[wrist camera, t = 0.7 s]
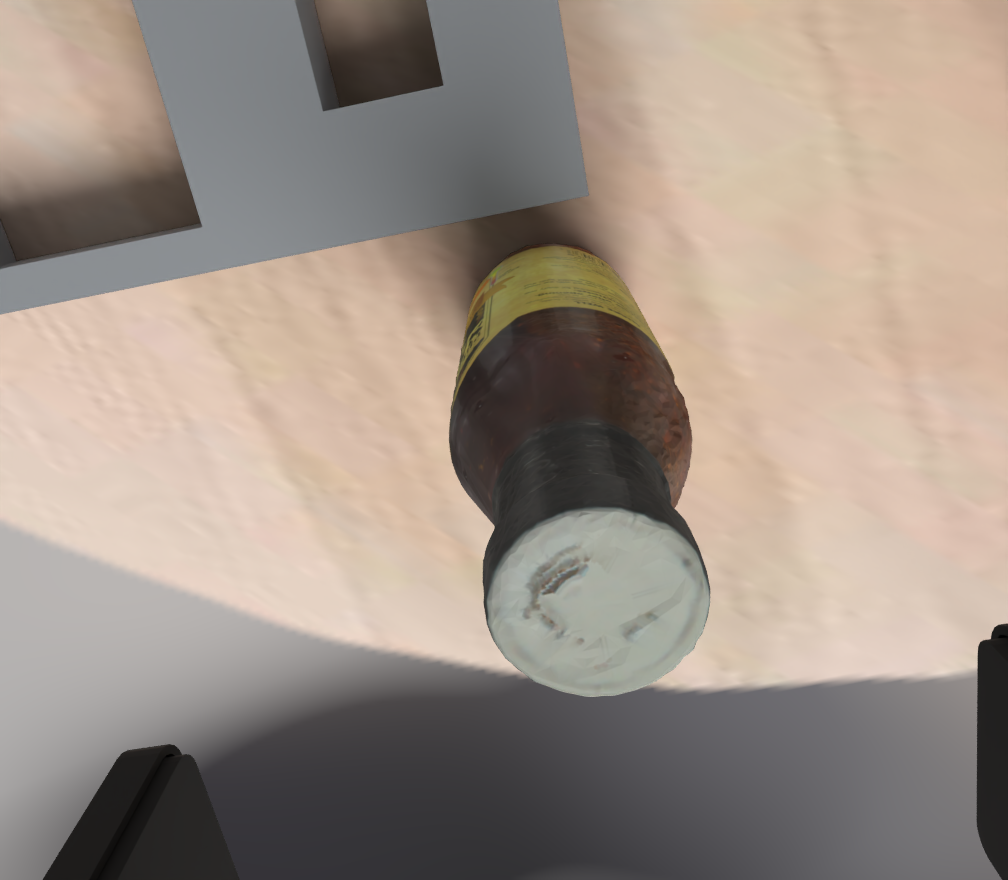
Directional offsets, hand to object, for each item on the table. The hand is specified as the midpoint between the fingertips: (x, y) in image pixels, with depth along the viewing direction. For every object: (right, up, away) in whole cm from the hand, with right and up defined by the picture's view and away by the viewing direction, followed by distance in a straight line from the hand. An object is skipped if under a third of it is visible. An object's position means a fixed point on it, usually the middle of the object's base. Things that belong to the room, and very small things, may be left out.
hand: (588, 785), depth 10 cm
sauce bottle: (+1, +9, +24) cm, 25 cm away
